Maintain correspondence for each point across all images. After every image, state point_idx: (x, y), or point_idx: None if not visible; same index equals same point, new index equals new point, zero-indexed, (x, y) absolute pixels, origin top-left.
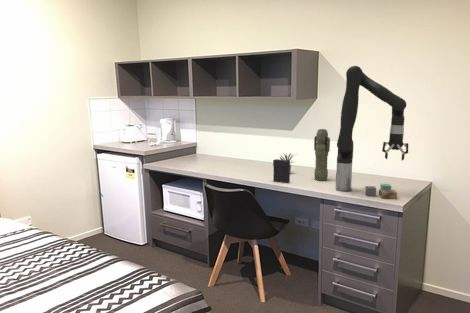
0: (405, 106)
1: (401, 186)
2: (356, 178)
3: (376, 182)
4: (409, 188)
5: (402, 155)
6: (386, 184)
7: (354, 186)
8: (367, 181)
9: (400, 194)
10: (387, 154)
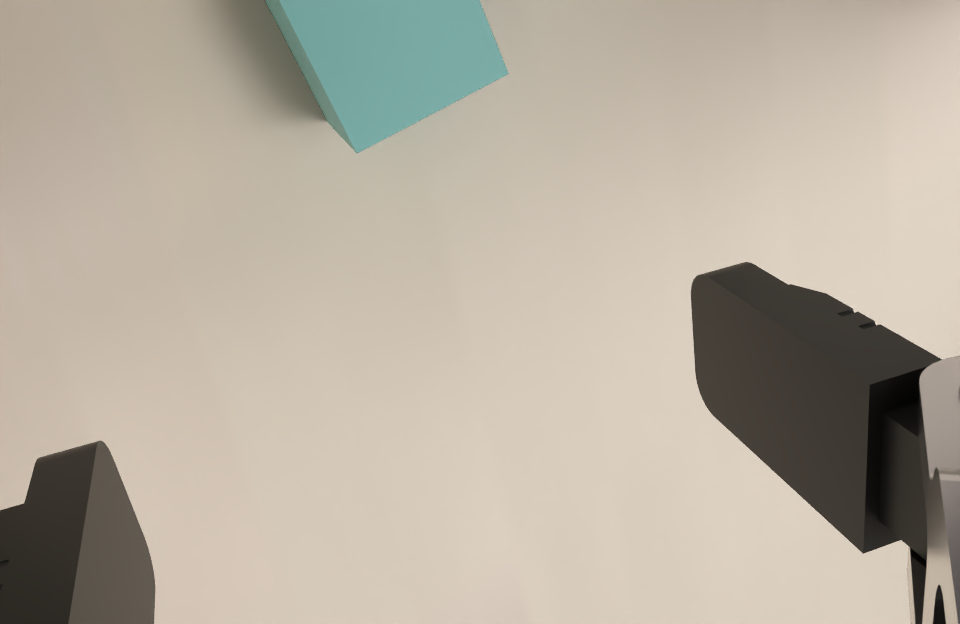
0: None
1: (250, 582)
2: (861, 596)
3: (616, 569)
4: None
5: (35, 604)
6: (394, 69)
7: (852, 163)
8: (727, 544)
9: (83, 35)
10: (832, 355)
